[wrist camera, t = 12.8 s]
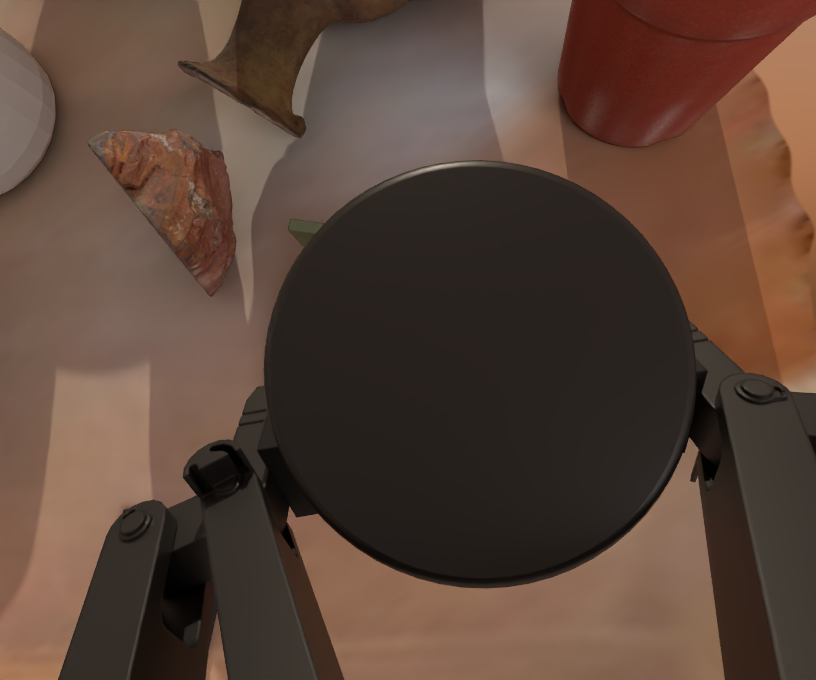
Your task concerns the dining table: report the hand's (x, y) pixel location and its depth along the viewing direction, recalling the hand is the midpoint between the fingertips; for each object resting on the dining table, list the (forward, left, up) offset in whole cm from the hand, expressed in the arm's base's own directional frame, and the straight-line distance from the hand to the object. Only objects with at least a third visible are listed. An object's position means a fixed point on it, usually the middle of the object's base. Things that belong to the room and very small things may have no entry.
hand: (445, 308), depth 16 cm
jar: (+1, -2, -5) cm, 6 cm away
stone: (-21, +8, -19) cm, 29 cm away
